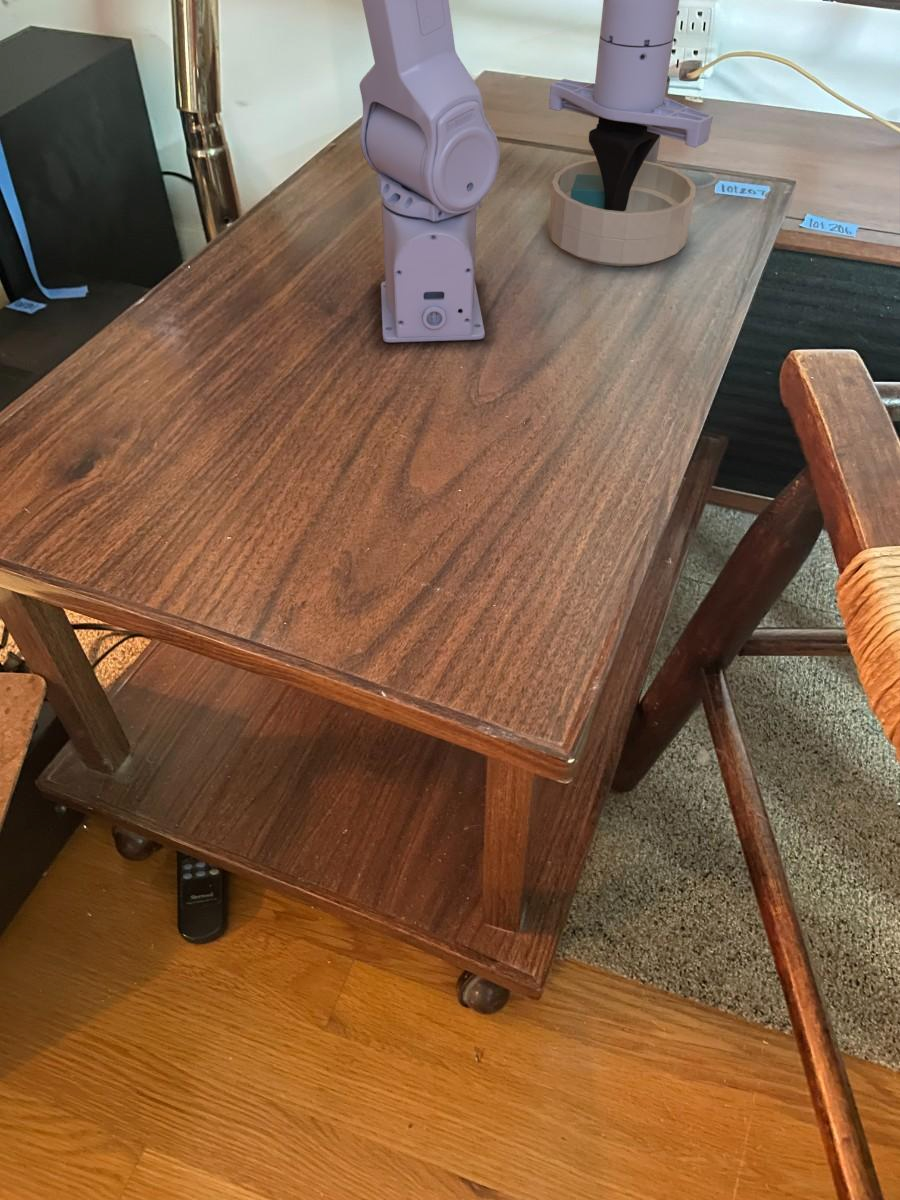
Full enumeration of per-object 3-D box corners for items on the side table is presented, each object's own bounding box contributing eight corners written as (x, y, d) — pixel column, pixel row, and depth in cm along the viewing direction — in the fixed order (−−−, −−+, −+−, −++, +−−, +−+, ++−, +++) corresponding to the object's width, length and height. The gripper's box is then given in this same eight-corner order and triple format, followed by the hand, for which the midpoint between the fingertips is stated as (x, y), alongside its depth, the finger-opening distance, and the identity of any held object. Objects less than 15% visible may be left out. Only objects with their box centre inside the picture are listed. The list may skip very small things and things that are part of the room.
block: (612, 237, 81) (616, 191, 78) (568, 234, 82) (571, 189, 79) (616, 220, 84) (621, 175, 81) (574, 218, 84) (577, 173, 82)
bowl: (700, 268, 78) (712, 211, 75) (559, 273, 78) (565, 215, 74) (666, 209, 87) (675, 156, 84) (539, 213, 86) (543, 159, 83)
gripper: (745, 42, 68) (708, 219, 78) (589, 11, 75) (574, 178, 85) (698, 64, 64) (666, 247, 74) (538, 29, 71) (528, 201, 81)
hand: (614, 212), depth 79 cm, fingers closed, pressing on block
